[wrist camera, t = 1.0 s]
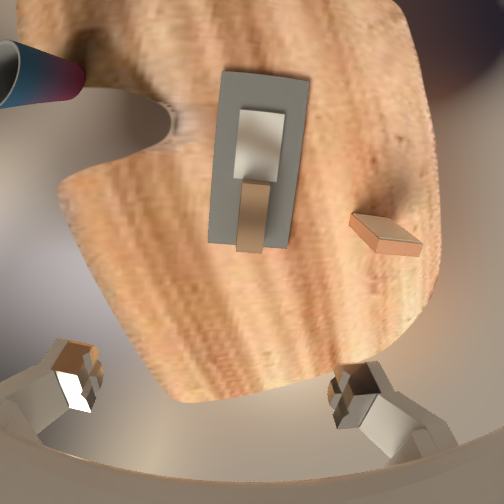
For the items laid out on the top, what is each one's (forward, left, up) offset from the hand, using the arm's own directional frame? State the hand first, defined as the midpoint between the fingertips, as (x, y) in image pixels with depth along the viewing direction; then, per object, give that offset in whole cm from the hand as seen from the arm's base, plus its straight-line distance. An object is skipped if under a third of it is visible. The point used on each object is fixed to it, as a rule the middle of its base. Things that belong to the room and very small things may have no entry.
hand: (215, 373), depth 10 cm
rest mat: (-3, +3, -30) cm, 30 cm away
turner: (-1, +3, -29) cm, 29 cm away
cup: (-13, -22, -30) cm, 39 cm away
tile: (+3, +19, -30) cm, 35 cm away
